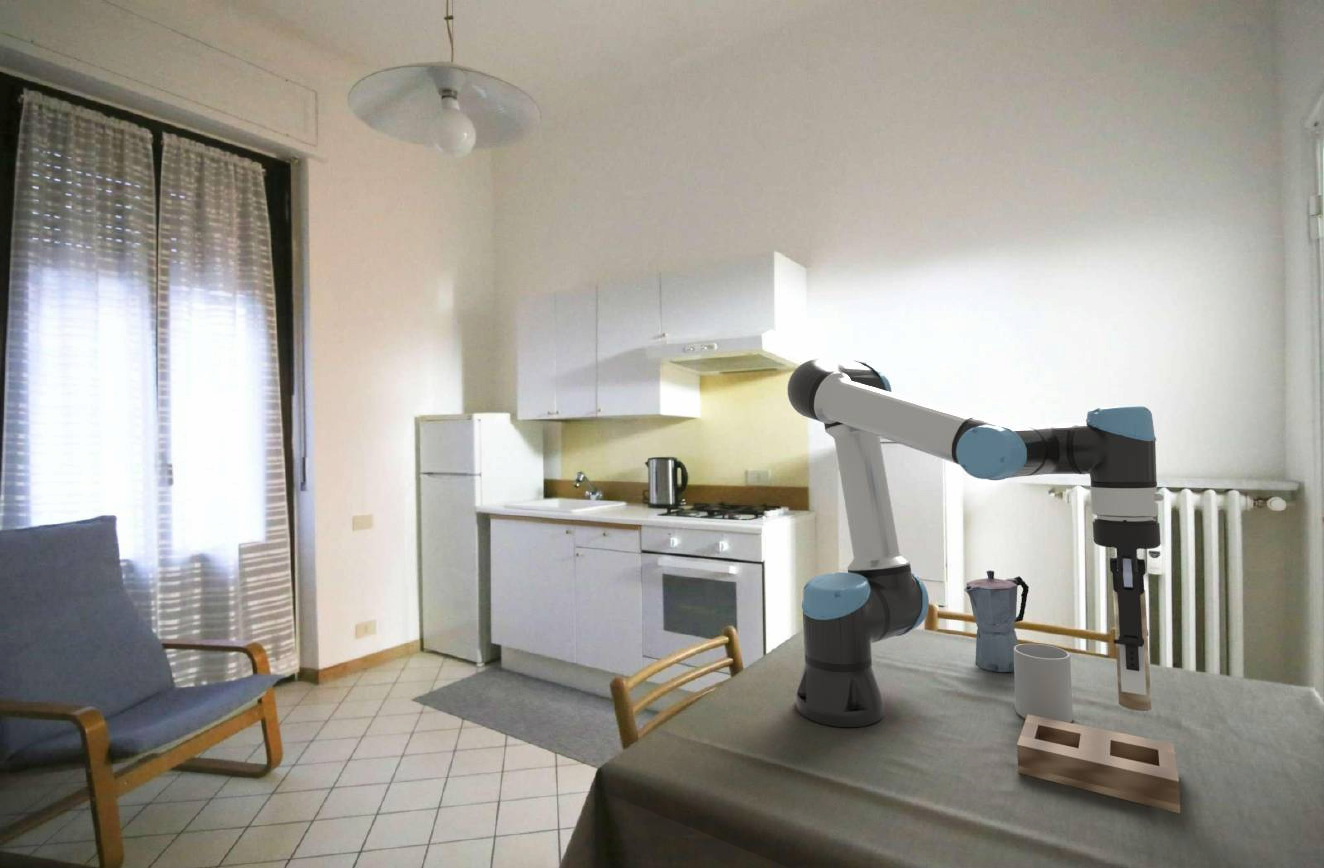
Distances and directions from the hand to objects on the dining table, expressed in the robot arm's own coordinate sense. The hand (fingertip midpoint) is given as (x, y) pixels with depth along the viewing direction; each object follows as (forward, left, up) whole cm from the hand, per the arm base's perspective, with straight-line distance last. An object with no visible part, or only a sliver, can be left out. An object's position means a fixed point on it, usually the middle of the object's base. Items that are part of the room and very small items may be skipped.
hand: (1133, 687), depth 87 cm
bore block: (-5, 0, -13) cm, 14 cm away
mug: (-14, +19, -13) cm, 27 cm away
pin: (0, 0, -2) cm, 2 cm away
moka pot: (-23, +40, -13) cm, 48 cm away
